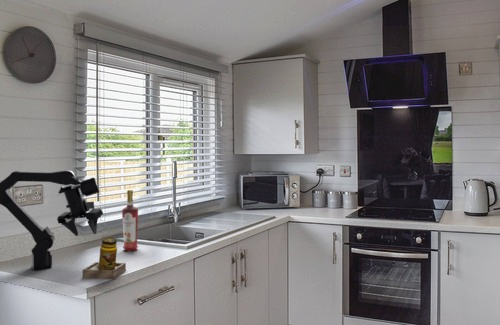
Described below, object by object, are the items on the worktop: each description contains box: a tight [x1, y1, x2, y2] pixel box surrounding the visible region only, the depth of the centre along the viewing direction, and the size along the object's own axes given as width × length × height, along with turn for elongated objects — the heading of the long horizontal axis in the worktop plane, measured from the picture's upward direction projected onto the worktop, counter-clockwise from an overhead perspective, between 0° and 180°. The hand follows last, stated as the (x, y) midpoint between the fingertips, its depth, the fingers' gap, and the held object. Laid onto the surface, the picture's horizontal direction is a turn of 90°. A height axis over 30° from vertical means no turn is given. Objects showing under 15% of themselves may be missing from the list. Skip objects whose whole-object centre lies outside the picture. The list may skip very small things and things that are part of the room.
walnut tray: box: [81, 261, 127, 280], centre depth 170 cm, size 12×11×3 cm
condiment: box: [90, 237, 118, 270], centre depth 169 cm, size 7×8×12 cm
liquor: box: [121, 189, 139, 252], centre depth 208 cm, size 7×7×28 cm
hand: (86, 234), depth 186 cm, fingers open, 9 cm apart
